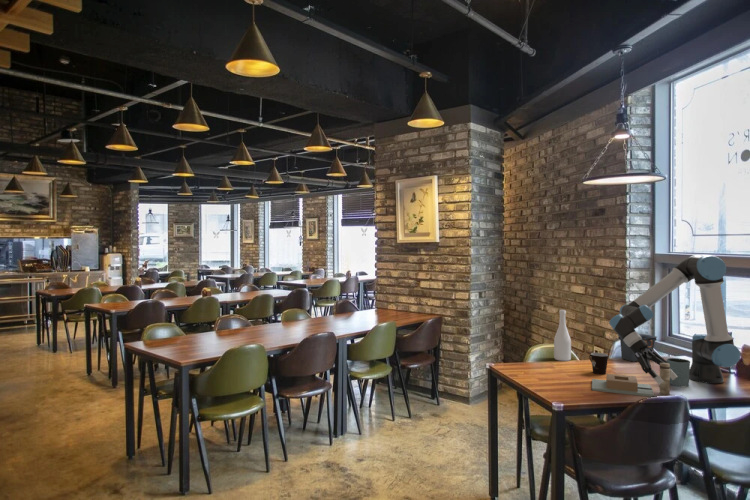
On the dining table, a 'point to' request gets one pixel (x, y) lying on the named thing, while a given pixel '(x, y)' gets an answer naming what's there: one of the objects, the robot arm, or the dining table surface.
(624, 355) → the storage bin
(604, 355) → the coffee mug
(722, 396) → the dining table surface
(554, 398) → the dining table surface
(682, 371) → the grey-green tapered pot
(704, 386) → the dining table surface
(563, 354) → the wine bottle
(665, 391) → the round peg
